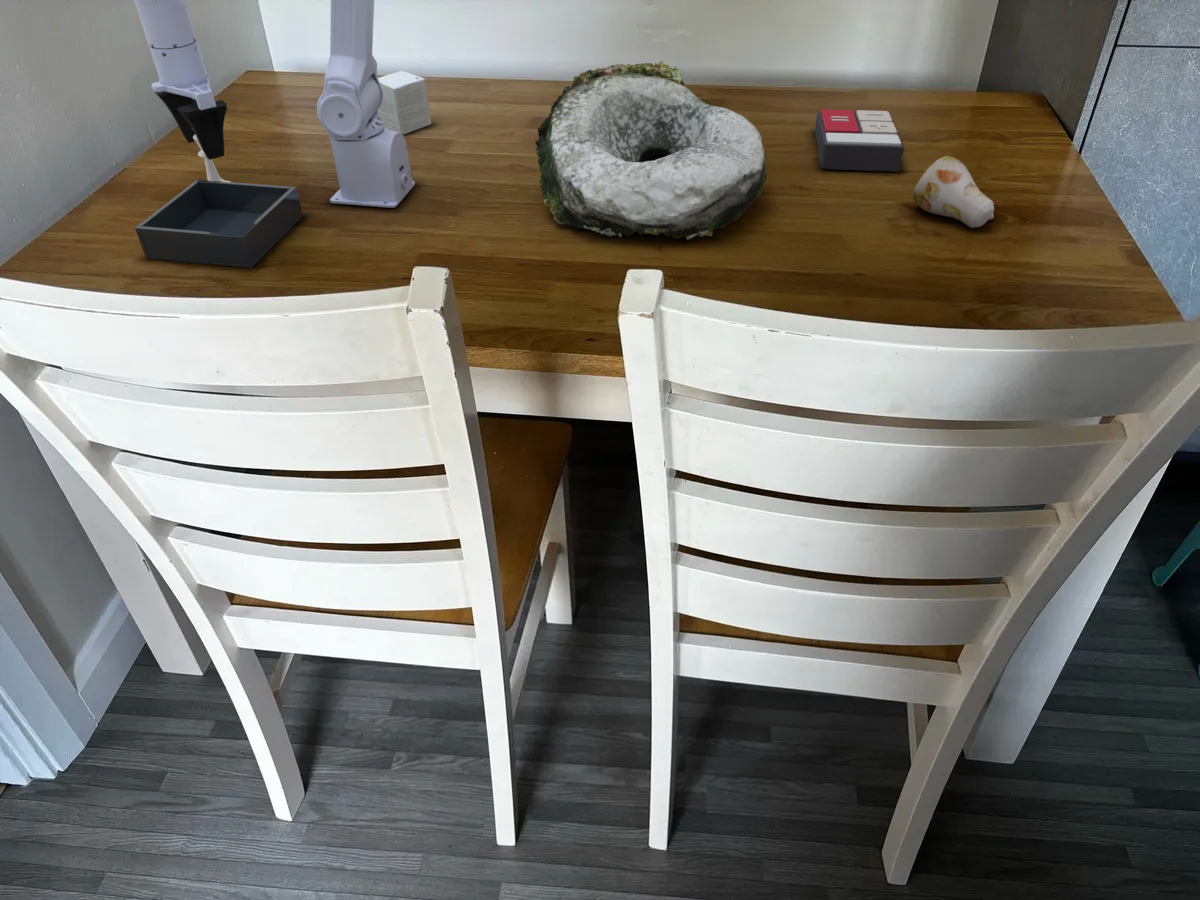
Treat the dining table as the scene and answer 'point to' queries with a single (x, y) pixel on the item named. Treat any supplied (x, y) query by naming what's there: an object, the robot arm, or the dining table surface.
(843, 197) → the dining table surface
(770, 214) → the dining table surface
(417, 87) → the product box
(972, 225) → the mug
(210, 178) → the chess piece
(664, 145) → the stone basin
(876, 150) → the calculator
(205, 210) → the square open tray
